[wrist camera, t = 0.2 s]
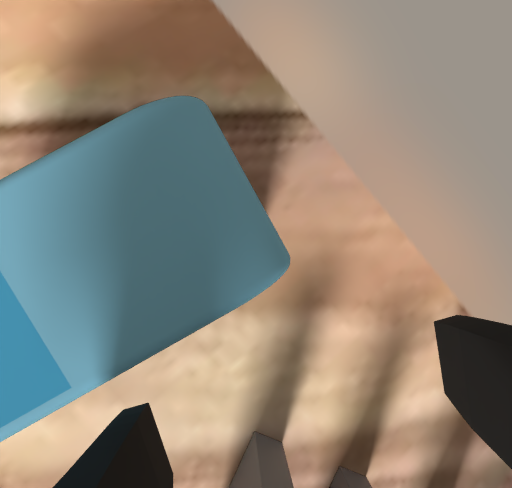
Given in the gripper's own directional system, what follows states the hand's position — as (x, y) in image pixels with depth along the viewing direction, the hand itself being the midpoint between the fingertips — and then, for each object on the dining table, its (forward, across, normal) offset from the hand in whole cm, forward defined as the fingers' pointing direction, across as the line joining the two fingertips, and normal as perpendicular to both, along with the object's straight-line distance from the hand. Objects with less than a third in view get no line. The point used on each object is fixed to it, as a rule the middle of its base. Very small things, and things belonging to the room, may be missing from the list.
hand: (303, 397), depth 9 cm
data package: (+11, +6, -2) cm, 13 cm away
